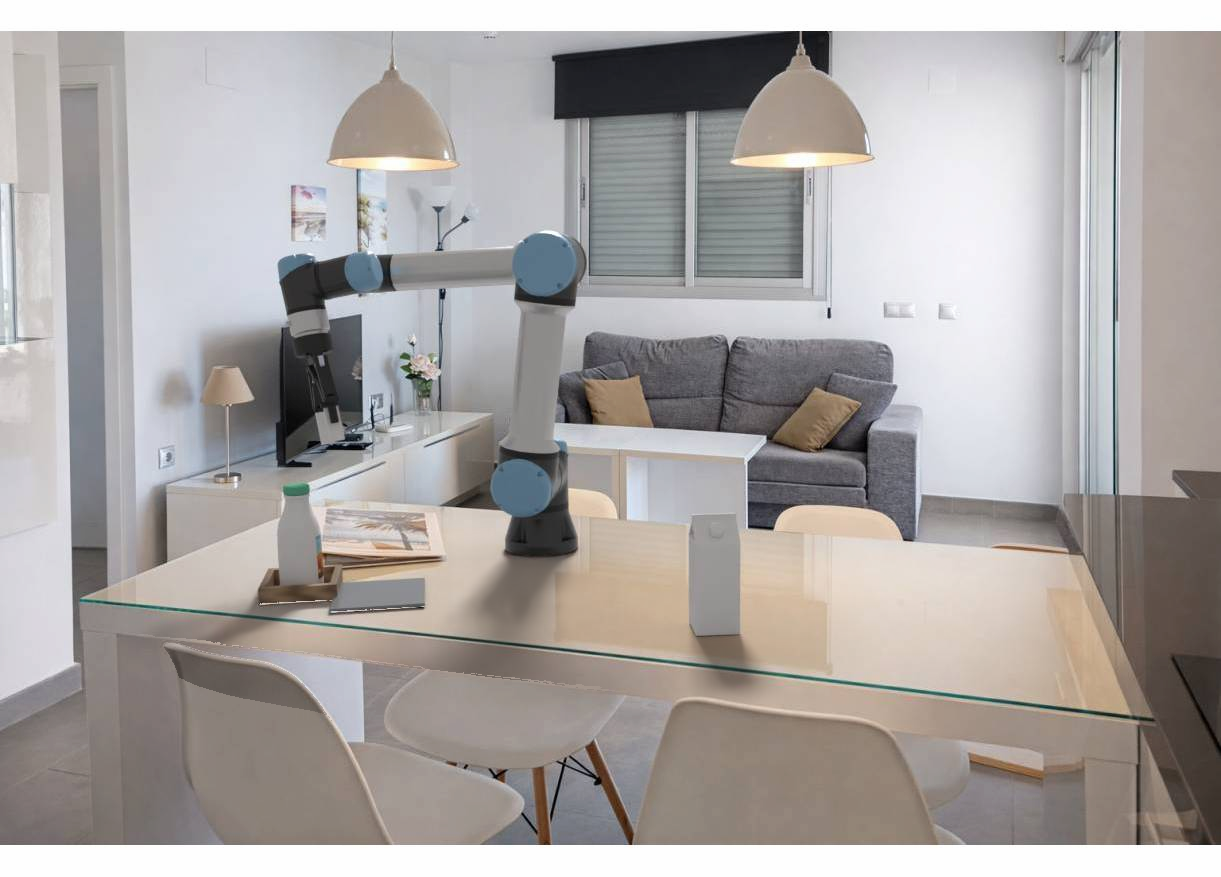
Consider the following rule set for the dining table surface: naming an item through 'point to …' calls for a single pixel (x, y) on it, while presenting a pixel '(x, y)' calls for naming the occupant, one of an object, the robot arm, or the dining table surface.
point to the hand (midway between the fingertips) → (333, 442)
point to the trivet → (380, 594)
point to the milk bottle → (299, 539)
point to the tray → (300, 587)
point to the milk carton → (714, 574)
